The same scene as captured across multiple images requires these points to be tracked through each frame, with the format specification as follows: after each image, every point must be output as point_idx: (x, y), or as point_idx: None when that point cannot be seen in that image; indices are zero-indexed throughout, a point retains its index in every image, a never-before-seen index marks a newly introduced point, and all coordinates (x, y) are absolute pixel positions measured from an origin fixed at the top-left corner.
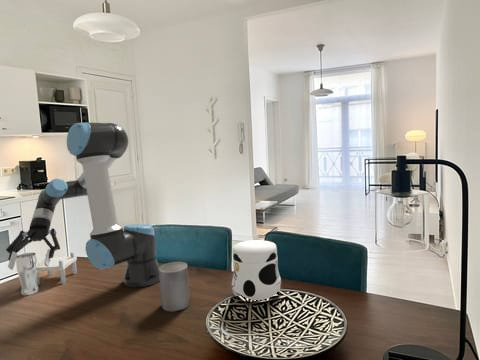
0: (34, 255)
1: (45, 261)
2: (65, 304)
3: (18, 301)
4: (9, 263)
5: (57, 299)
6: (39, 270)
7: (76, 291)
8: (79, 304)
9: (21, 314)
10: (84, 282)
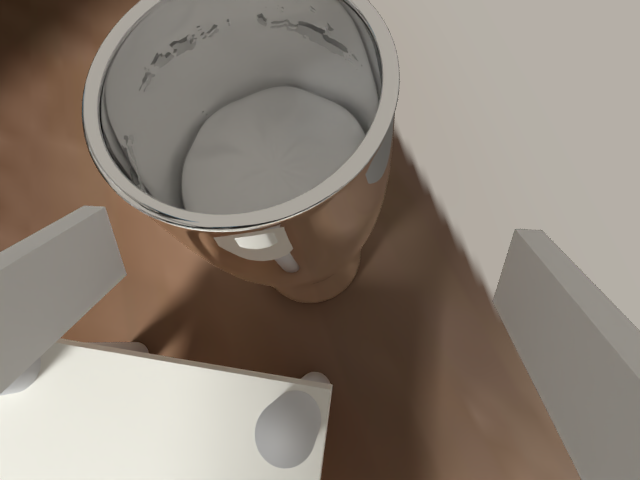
0: (99, 74)
1: (73, 218)
2: (89, 56)
3: None
4: (553, 253)
5: None
6: (248, 371)
7: (49, 188)
8: (33, 44)
9: None
10: None
